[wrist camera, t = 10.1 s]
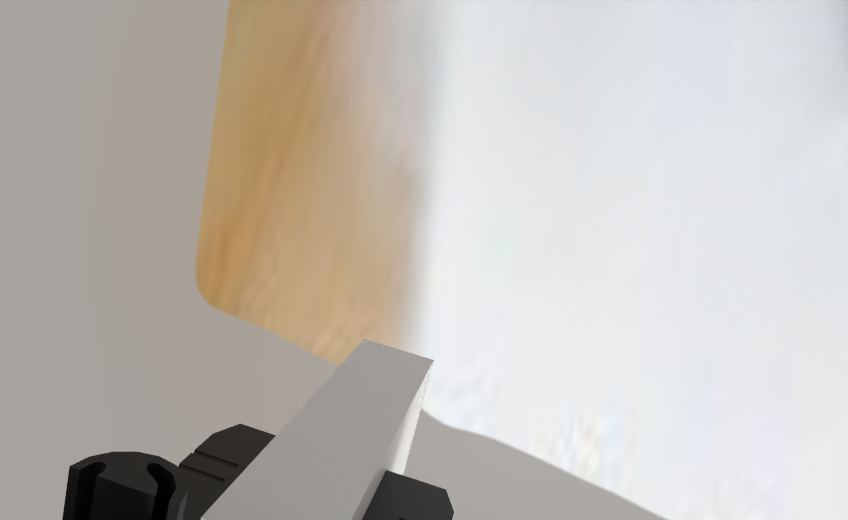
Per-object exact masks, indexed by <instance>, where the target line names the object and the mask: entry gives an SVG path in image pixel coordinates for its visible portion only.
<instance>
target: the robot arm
mask: <svg viewBox="0 0 848 520" xmlns="http://www.w3.org/2000/svg"><path fill="white" fill-rule="evenodd" d="M433 361H434V360H431V359H428V358H425V357H421V356H418V355H415V354H412V353H408V352H405V351H402V350H399V349H395V348H392V347H389V346H385V345H382V344H379V343H376V342H372V341H369V340H366V339H364V340H363V341H362V342H361V343H360V344H359V345H358V346H357V347H356V349H355V350H354V351H353V352H352V353H351V354H350V355H349V356H348V357H347V358H346V359H345V361H344V362H343V363H342V364H341V365H340V366H339V367H338V368H337V369H336V370H335V372H334V373H333V374H332V375H331V376H330V377H329V378H328V379H327V380H326V381H325V382H324V384H323V385H322V386H321V387H320V388H319V389H318V390H317V391H316V392H315V393H314V394H313V396H312V397H311V398H310V399H309V400H308V401H307V402H306V404H304V405H303V407H302V408H301V409H300V410H299V411H298V412H297V413H296V414H295V415H294V416H293V417H292V419H291V420H290V421H289V422H288V423H287V424H286V425H285V426H284V427H283V429H282V430H281V431H280V432H279V433H278V434H277V435H273V434H270V433H267V432H264V431H261V430H258V429H255V428H252V427H249V426H245V425H243V424H238V425H235V426H233V427H230V428H227V429H225V430H222V431H219V432H217V433H214V434H212V435H211V436H210V437H209V438H208V439H207V440H206V441H204V442H203V443H202V444H201V445H200V446H199V447H198V448H196V449H195V452H194V453H191V454H190V455H189V456H187V457H186V458H185V459H184V460H183V461H182V462H181V463H180V464H179V466H178V467H177V466H176V465H175V464H173V463H171V462H169V461H167V460H165V459H163V458H161V457H159V456H155V455H150V454H145V453H141V452H110V453H105V454H100V455H96V456H91V457H88V458H86V459H84V460H82V461H80V462H77V463H76V464H73V465H71V466H70V469H69V475H68V483H67V490H66V498H65V505H64V512H63V520H452V518H453V514H454V511H453V508H452V505H451V503H450V500H449V497H448V494H447V492H446V490H445V489H442V488H439V487H436V486H433V485H430V484H427V483H424V482H421V481H418V480H415V479H412V478H409V477H406V476H403V473H404V470H405V466H406V462H407V458H408V454H409V451H410V447H411V443H412V439H413V436H414V432H415V428H416V425H417V421H418V417H419V413H420V410H421V406H422V402H423V398H424V395H425V391H426V387H427V383H428V380H429V376H430V372H431V368H432V365H433Z"/></svg>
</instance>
